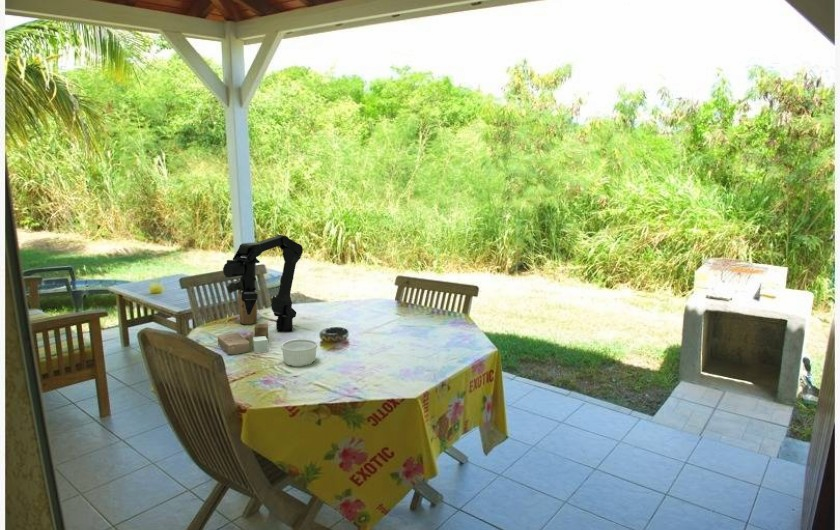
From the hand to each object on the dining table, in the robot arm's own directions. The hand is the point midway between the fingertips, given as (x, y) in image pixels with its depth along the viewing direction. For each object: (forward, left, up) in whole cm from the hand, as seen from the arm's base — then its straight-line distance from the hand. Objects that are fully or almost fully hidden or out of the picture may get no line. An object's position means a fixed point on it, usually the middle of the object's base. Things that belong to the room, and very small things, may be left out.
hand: (247, 311), depth 230 cm
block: (+4, -30, -13) cm, 33 cm away
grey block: (-6, +10, -13) cm, 18 cm away
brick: (+5, +6, -14) cm, 16 cm away
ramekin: (-22, +24, -13) cm, 35 cm away
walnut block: (-5, -4, -13) cm, 14 cm away
